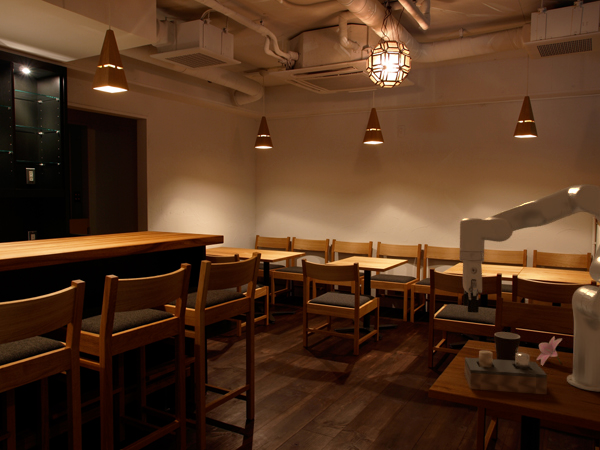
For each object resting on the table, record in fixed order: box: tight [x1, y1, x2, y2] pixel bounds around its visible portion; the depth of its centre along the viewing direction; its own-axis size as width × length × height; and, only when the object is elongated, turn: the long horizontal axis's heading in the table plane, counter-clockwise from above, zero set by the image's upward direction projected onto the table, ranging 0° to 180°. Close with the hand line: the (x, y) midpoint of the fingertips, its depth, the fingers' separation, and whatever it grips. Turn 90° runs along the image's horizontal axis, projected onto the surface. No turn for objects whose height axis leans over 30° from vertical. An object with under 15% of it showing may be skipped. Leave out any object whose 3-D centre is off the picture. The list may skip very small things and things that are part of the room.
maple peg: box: [478, 349, 494, 368], centre depth 153 cm, size 4×4×6 cm
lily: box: [536, 336, 563, 366], centre depth 173 cm, size 12×12×10 cm
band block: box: [464, 357, 548, 395], centre depth 152 cm, size 22×12×6 cm, turn 79°
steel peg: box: [515, 351, 530, 370], centre depth 151 cm, size 4×4×6 cm
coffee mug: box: [494, 331, 521, 361], centre depth 174 cm, size 12×9×10 cm
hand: (470, 308), depth 155 cm, fingers open, 9 cm apart
